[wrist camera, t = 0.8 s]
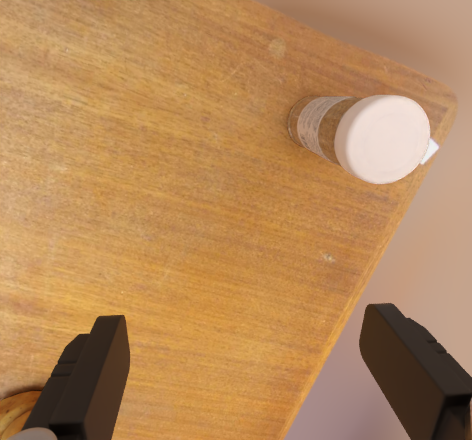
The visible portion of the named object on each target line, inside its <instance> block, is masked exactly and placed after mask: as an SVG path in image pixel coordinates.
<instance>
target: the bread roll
mask: <svg viewBox="0 0 472 440" xmlns="http://www.w3.org/2000/svg"><path fill="white" fill-rule="evenodd" d="M41 392H42V391H28V392H25V393H20V394H17V395H14V396H12V397H9V398H5V399H3V400H1V401H0V440H6V439H8V438H9V437H11V436H12V435H14V434H16V433H18V432H20V431H21V429H22V428H23V426H24V424H25V422H26V420H27V418H28V417H29V415H30V413H31V411H32V409H33V407H34V405H35V403H36V402H37V400H38V398H39V396H40V394H41Z"/></svg>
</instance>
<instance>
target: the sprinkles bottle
mask: <svg viewBox="0 0 472 440" xmlns="http://www.w3.org/2000/svg"><path fill="white" fill-rule="evenodd" d="M287 126H288V132H289V134H290V137H291V138H292V139H293V141H294V142H295V143H296V144H298V145H299V146H301V147H304V148H307V149H308V150H310V151H312V152H313V153H315V154H317V155H319V156H321V157H322V158H324V159H326V160H328V161H330V162H332V163H335V164H338V165H340V166H342V167H343V168H344V169H345V170H346V171H347V172H348V173H350V174H351V175H353V176H355V177H357V178H359V179H361V180H364V181H366V182H369V183H373V184H387V183H392V182H395V181H397V180H400V179H402V178H403V177H405V176H406V175H408V174H409V173H410V172H412V171H413V170H414V169H415V168H416V167H417V166H418V164H419V163H420V162H421V160H422V159H423V157H424V155H425V153H426V151H427V148H428V144H429V140H430V125H429V121H428V118H427V115H426V113H425V112H424V110H423V109H422V107H421V106H420V105H419V104H418V103H416V102H415V101H413V100H412V99H409V98H407V97H404V96H398V95H374V96H370V97H366V98H357V97H347V96H325V97H321V96H309V97H304V98H303V99H301V100H300V101H298V102H297V103H296V104H295V105H294V106H293V108H292V109H291V111H290V113H289V116H288V122H287Z"/></svg>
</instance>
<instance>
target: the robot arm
mask: <svg viewBox="0 0 472 440" xmlns="http://www.w3.org/2000/svg"><path fill="white" fill-rule="evenodd" d="M359 347H360V352H361V355H362V358H363V360H364V362H365V363H366V365H367V367H368V368H369V370H370V372H371V373H372V375H373V377H374V378H375V380H376V382H377V383H378V385H379V387H380V388H381V390H382V392H383V393H384V395H385V397H386V399H387V400H388V402H389V404H390V405H391V407H392V408H393V410H394V412H395V414H396V415H397V417H398V419H399V420H400V422H401V424H402V425H403V427H404V429H405V430H406V432H407V434H408V435H409V437H410V439H411V440H472V377H471V376H470V375H469V374H468V373H467V372H466V371H465V370H464V369H463V368H462V367H461V366H460V365H459V363H458V362H457V361H456V360H455V359H454V358H453V357H452V356H451V355H450V354H449V353H447V352H446V350H445V349H444V347H443V346H442V345H441V344H440V343H437V340H436V339H435V338H434V337H433V336H432V335H431V334H430V333H429V332H428V330H427V329H426V328H424V327H423V326H421V325H420V324H418V323H417V322H415V321H414V320H412V319H410V318H406V317H405V316H404V315H403V314H402V313H401V312H400V311H399V310H398V308H397V307H396V306H395V305H394V304H391V303H384V304H369V305H367V307H366V310H365V314H364V320H363V324H362V330H361V334H360V340H359ZM129 367H130V350H129V342H128V335H127V327H126V320H125V317H124V315H111V316H99V317H98V318H97V319H96V321H95V323H94V326H93V328H92V330H91V332H90V334H79V335H78V336H77V337H76V338H75V339H74V340H72V341H71V342H70V343H69V344H68V345H67V346H66V347H65V349H64V351H63V353H62V355H61V357H60V358H59V360H58V364H57V365H56V366H55V368H54V370H53V372H52V373H51V377H50V378H49V379H48V381H47V383H46V385H45V387H44V388H43V390H42V392H41V394H40V396H39V398H38V400H37V402H36V403H35V405H34V407H33V409H32V411H31V413H30V415H29V417H28V418H27V420H26V422H25V424H24V426H23V428H22V429H21V431H20V432H18V433H16V434H14V435H12V436H11V437H9V438H8V439H6V440H111V438H112V435H113V431H114V427H115V423H116V419H117V415H118V412H119V408H120V404H121V400H122V396H123V392H124V389H125V385H126V381H127V377H128V373H129Z"/></svg>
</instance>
